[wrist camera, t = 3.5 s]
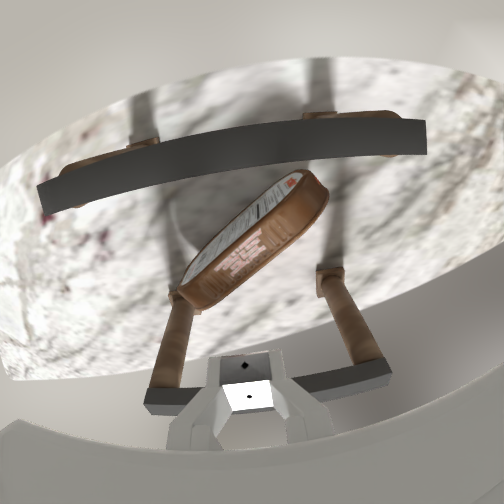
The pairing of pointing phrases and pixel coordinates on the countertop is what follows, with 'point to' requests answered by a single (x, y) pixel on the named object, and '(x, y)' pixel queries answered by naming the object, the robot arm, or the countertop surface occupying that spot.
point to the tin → (254, 238)
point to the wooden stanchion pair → (327, 286)
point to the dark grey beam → (316, 384)
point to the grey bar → (233, 154)
